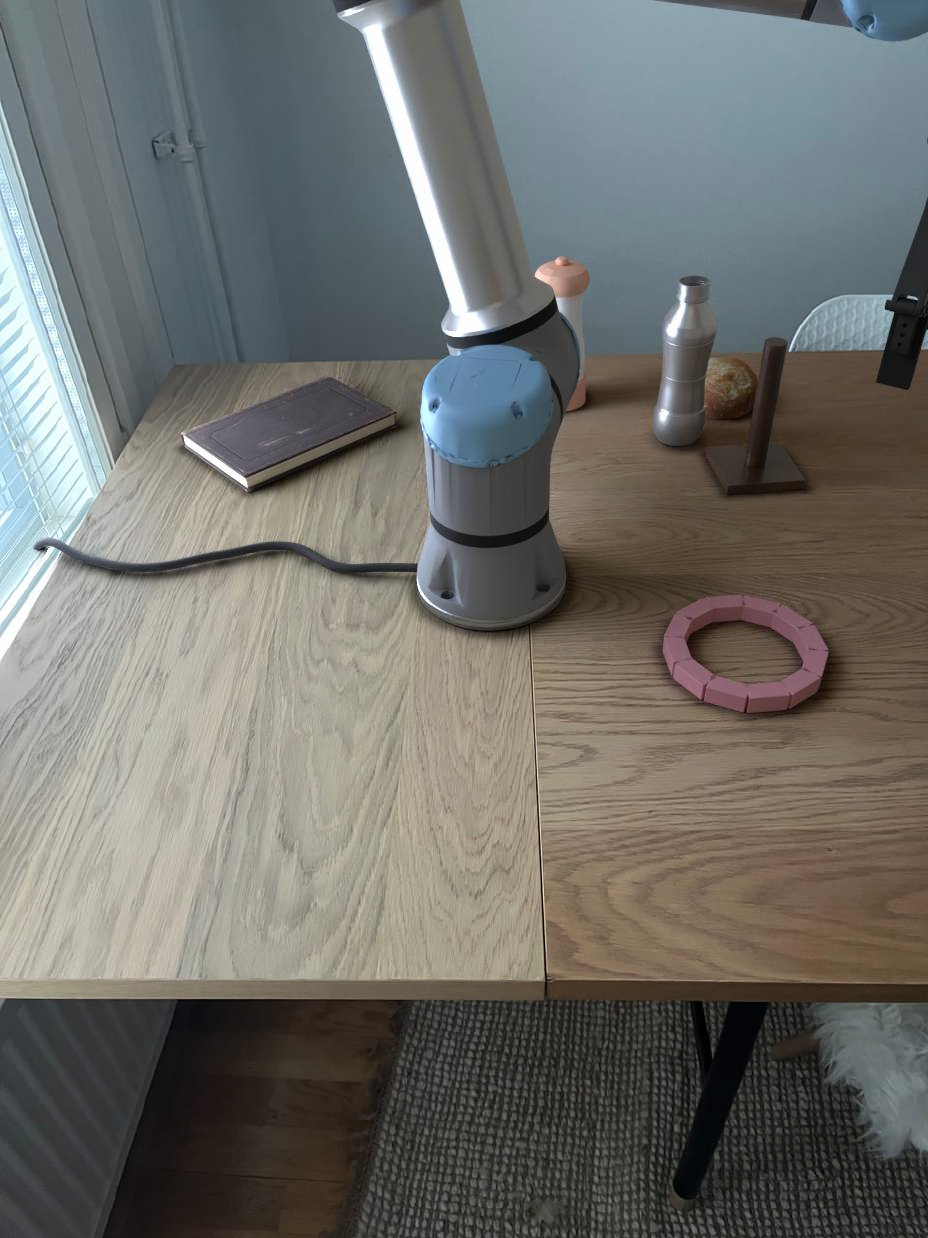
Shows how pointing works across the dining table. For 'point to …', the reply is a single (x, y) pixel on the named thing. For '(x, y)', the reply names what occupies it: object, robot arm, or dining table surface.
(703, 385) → the silver bottle
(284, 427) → the hardcover book
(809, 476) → the dining table surface
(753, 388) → the bread roll
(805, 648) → the ring
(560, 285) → the salt shaker
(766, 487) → the stand
